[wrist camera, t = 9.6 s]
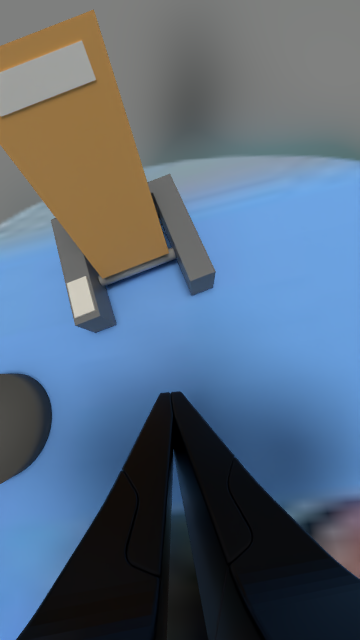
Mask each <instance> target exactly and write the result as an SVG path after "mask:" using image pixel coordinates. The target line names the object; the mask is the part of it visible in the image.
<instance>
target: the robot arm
mask: <svg viewBox="0 0 360 640" xmlns="http://www.w3.org/2000/svg"><path fill="white" fill-rule="evenodd" d="M173 449H174V457H175V463H176V468H177V474H178V479H179V484H180V490H181V495H182V500H183V506H184V511H185V517H186V522H187V527H188V533H189V538H190V543H191V549H192V554H193V559H194V565H195V570H196V575H197V581H198V586H199V592H200V597H201V602H202V608H203V613H204V618H205V624H206V629H207V634H208V640H360V579H359V578H358V577H356V576H355V575H353V574H352V573H351V572H349V571H348V570H347V569H346V568H344V567H343V566H342V565H341V564H339V563H338V562H337V561H336V560H335V559H334V558H333V557H331V556H330V555H329V554H328V553H327V552H326V551H325V550H324V549H323V548H322V547H321V546H320V545H319V544H318V543H317V542H316V541H315V540H314V539H313V538H312V537H311V536H310V535H309V534H308V533H307V532H306V531H305V530H304V529H303V528H302V527H301V526H300V525H299V524H298V523H297V522H296V521H295V520H294V519H293V518H292V517H291V516H290V515H289V514H288V513H287V512H286V511H285V510H284V509H283V508H282V507H281V506H280V505H279V504H278V503H277V502H276V501H275V500H274V499H273V498H272V497H271V496H270V495H269V494H268V493H267V492H266V491H265V490H264V489H263V488H262V487H261V486H260V485H259V484H258V483H257V481H256V480H255V479H254V478H253V477H252V476H251V475H250V473H249V472H248V471H247V470H246V469H245V468H244V467H243V465H242V464H241V463H240V462H239V461H238V459H237V458H236V457H235V458H234V455H233V454H232V452H231V451H230V450H229V449H228V448H227V446H226V445H225V444H224V443H223V442H222V440H221V439H220V438H219V437H218V436H217V434H216V433H215V432H214V431H213V430H212V428H211V427H210V426H209V425H208V424H207V422H206V421H205V420H204V419H203V418H202V416H201V415H200V414H199V413H198V412H197V410H196V409H195V408H194V407H193V406H192V404H191V403H190V402H189V401H188V400H187V398H186V397H185V396H184V395H183V394H182V393H181V392H171V394H170V393H169V392H166V393H160V394H159V396H158V398H157V400H156V402H155V404H154V406H153V408H152V410H151V412H150V414H149V416H148V418H147V420H146V422H145V424H144V426H143V428H142V430H141V432H140V434H139V436H138V438H137V440H136V442H135V444H134V446H133V448H132V450H131V452H130V454H129V456H128V458H127V460H126V462H125V464H124V466H123V468H122V471H121V472H120V474H119V475H118V477H117V479H116V481H115V483H114V485H113V487H112V489H111V491H110V493H109V495H108V496H107V498H106V500H105V502H104V504H103V506H102V507H101V509H100V511H99V512H98V514H97V516H96V517H95V519H94V521H93V522H92V524H91V526H90V527H89V529H88V530H87V532H86V534H85V535H84V537H83V538H82V540H81V542H80V543H79V545H78V546H77V548H76V549H75V551H74V553H73V554H72V556H71V557H70V559H69V561H68V562H67V564H66V565H65V567H64V569H63V570H62V572H61V573H60V575H59V577H58V578H57V580H56V581H55V583H54V584H53V586H52V588H51V589H50V591H49V592H48V594H47V596H46V597H45V599H44V600H43V602H42V603H41V605H40V606H39V608H38V610H37V611H36V613H35V614H34V616H33V617H32V618H31V620H30V621H29V623H28V624H27V626H26V627H25V628H24V630H23V631H22V633H21V634H20V635H19V636H18V638H17V639H16V640H166V638H167V612H168V586H169V560H170V534H171V508H172V482H173Z"/></svg>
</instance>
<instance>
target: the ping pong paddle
mask: <svg viewBox="0 0 360 640" xmlns="http://www.w3.org/2000/svg"><path fill="white" fill-rule="evenodd" d="M51 416H52V413H51V405H50V401H49V398H48V395H47V393H46V391H45V390H44V388H43V387H42V386H41V384H39V383H38V382H37V381H36V380H35V379H33V378H31V377H29V376H27V375H23V374H0V484H1V483H3V482H5V481H6V480H8V479H10V478H11V477H13V476H15V475H17V474H18V473H20V472H22V471H23V470H25V469H26V468H27V467H28V466H29V465H30V464H31V463H32V462H33V461H34V460H35V459H36V458H37V457H38V455H39V454H40V452H41V451H42V449H43V447H44V445H45V443H46V441H47V438H48V435H49V431H50V427H51Z"/></svg>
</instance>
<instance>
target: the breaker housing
mask: <svg viewBox="0 0 360 640" xmlns="http://www.w3.org/2000/svg"><path fill="white" fill-rule="evenodd" d="M147 183H148V186H149V190H150V193H151V196H152V199H153V202H154V206H155V209H156V212H157V215H158V218H160V220H161V222H162V225H163V227H164V230H165V232H166V234H167V237H168V239H169V242H170V244H171V246H172V248H170V249H168V251H169V253H168V254H166V255H163V256H160V257H158V258H155V259H153V260H150V261H147V262H145V263H142V264H140V265H137V266H135V267H132V268H129V269H127V270H124V271H122V272H119V273H116V274H114V275H111V276H109V277H106V278H103V279H102V278H101V276H100V275H99V274H98V272H97V271H96V270H95V268H94V267H93V266H92V265H91V263H90V262H89V261H88V259H87V258H86V257H85V255H84V254H83V253H82V251H81V250H80V249H79V247H78V246H77V245H76V243H75V242H74V241H73V240H72V238H71V237H70V236H69V234H68V233H67V232H66V230H65V229H64V228H63V226H62V225H61V224H60V222H59V221H58V220H57V219H56V218H54V219H52V220H51V223H52V227H53V231H54V236H55V240H56V244H57V249H58V253H59V257H60V262H61V266H62V270H63V275H64V279H65V283H66V288H67V292H68V296H69V301H70V305H71V309H72V314H73V318H74V322H75V326H78V327H81V328H84V329H87V330H89V331H92V332H95V333H96V332H99V331H101V330H104V329H106V328H109V327H112V326H114V325H116V321H115V318H114V314H113V311H112V307H111V304H110V300H109V297H108V294H107V290H106V287H105V286H106V285H109V284H111V283H114V282H117V281H119V280H122V279H124V278H127V277H130V276H132V275H135V274H137V273H140V272H143V271H145V270H148V269H150V268H153V267H156V266H158V265H161V264H163V263H166V262H169V261H171V260H174V259H176V258H177V261H178V263H179V266H180V268H181V271H182V273H183V275H184V278H185V280H186V283H187V285H188V287H189V290H190V292H191V295H195V294H197V293H200V292H203V291H205V290H208V289H210V288H213V284H214V278H215V272H216V271H215V269H214V267H213V265H212V263H211V261H210V259H209V256H208V254H207V252H206V250H205V248H204V246H203V244H202V241H201V239H200V237H199V235H198V233H197V231H196V229H195V226H194V224H193V222H192V220H191V218H190V216H189V214H188V212H187V209H186V207H185V205H184V203H183V201H182V199H181V197H180V194H179V192H178V190H177V188H176V186H175V184H174V182H173V179H172V177H171V175H170V174H168V175H166V176H163V177H160V178H158V179H155V180H153V181H150V182H147Z"/></svg>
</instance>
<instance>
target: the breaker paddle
mask: <svg viewBox="0 0 360 640" xmlns="http://www.w3.org/2000/svg"><path fill="white" fill-rule="evenodd" d="M0 145H1V146H2V148H3V149H4V150H5V151H6V153H7V154H8V155H9V157H10V158H11V159H12V161H13V162H14V163H15V165H16V166H17V167H18V168H19V170H20V171H21V173H22V174H23V175H24V176H25V178H26V179H27V180H28V182H29V183H30V184H31V186H32V187H33V188H34V190H35V191H36V192H37V194H38V195H39V196H40V198H41V199H42V200H43V201H44V203H45V204H46V205H47V207H48V208H49V209H50V211H51V212H52V213H53V215H54V216H55V217H56V219H57V220H58V221H59V222H60V224H61V225H62V226H63V228H64V229H65V230H66V232H67V233H68V234H69V236H70V237H71V238H72V240H73V241H74V242H75V243H76V245H77V246H78V247H79V249H80V250H81V251H82V253H83V254H84V255H85V257H86V258H87V259H88V261H89V262H90V263H91V265H92V266H93V267H94V268H95V270H96V271H97V272H98V274H99V275H100V276H101V278H102V279H103V278H106V277H109V276H111V275H114V274H116V273H119V272H122V271H124V270H127V269H129V268H132V267H135V266H137V265H140V264H142V263H145V262H147V261H150V260H153V259H155V258H158V257H160V256H163V255H166V254H168V253H169V251H168V248H167V244H166V241H165V238H164V235H163V231H162V228H161V225H160V222H159V219H158V215H157V212H156V209H155V206H154V202H153V199H152V196H151V193H150V190H149V186H148V183H147V180H146V177H145V173H144V170H143V167H142V164H141V160H140V157H139V154H138V151H137V148H136V144H135V141H134V138H133V135H132V131H131V128H130V125H129V122H128V119H127V115H126V112H125V109H124V106H123V103H122V100H121V96H120V93H119V90H118V86H117V83H116V80H115V77H114V73H113V71H112V67H111V64H110V61H109V57H108V54H107V51H106V48H105V44H104V41H103V38H102V35H101V31H100V28H99V25H98V22H97V19H96V15H95V12H94V10H91V11H89V12H86V13H84V14H81V15H79V16H76V17H74V18H71V19H68V20H66V21H63V22H61V23H58V24H56V25H53V26H51V27H48V28H45V29H43V30H40V31H38V32H35V33H33V34H30V35H27V36H25V37H22V38H20V39H17V40H15V41H12V42H9V43H7V44H5V45H2V46H0Z"/></svg>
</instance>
